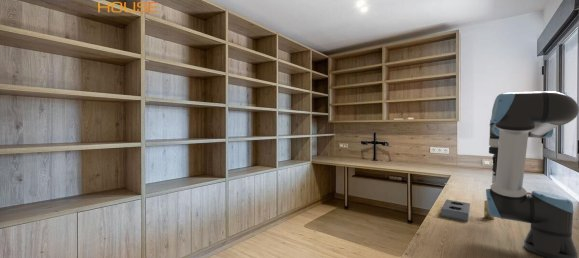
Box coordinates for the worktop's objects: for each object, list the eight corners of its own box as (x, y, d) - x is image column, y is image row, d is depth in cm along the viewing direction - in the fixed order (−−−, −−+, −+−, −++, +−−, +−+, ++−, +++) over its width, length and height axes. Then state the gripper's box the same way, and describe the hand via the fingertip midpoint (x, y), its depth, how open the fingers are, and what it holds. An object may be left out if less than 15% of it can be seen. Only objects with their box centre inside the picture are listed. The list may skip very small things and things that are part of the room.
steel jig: (467, 221, 134) (468, 213, 134) (441, 216, 142) (441, 208, 142) (469, 211, 152) (470, 203, 152) (446, 206, 159) (446, 199, 159)
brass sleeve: (492, 220, 138) (493, 203, 137) (482, 217, 141) (483, 201, 141) (495, 218, 140) (496, 202, 140) (485, 216, 144) (486, 200, 144)
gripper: (510, 148, 128) (508, 191, 128) (504, 145, 148) (502, 182, 149) (490, 147, 132) (489, 189, 132) (487, 145, 152) (486, 181, 153)
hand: (496, 185), depth 140 cm, fingers open, 13 cm apart
